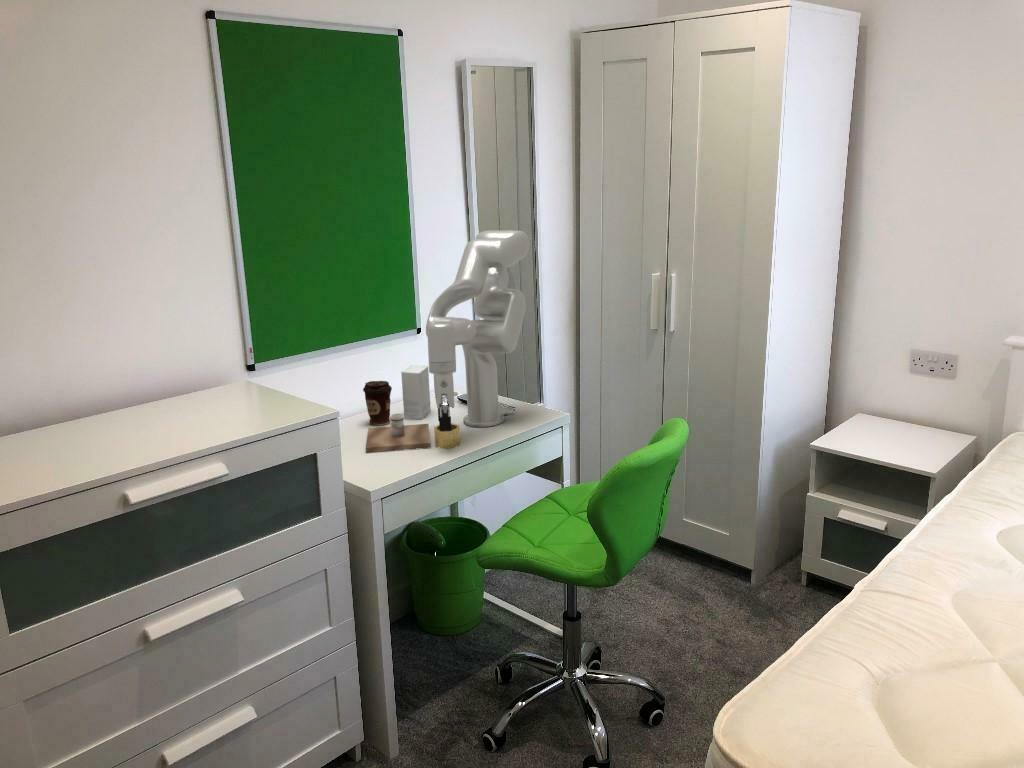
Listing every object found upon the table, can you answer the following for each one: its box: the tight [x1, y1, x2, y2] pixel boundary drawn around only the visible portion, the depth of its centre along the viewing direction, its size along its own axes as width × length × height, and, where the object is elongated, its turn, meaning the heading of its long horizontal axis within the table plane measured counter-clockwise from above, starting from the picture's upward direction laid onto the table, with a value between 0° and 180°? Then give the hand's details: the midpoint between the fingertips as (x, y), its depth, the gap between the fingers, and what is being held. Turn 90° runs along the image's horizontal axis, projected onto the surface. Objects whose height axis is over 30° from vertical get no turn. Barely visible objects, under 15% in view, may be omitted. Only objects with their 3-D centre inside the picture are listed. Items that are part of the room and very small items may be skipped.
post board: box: [365, 413, 431, 454], centre depth 241 cm, size 18×18×8 cm
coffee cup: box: [362, 380, 393, 426], centre depth 257 cm, size 9×8×13 cm
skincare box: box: [400, 364, 432, 420], centre depth 263 cm, size 8×7×16 cm
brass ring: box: [433, 422, 462, 449], centre depth 236 cm, size 7×7×5 cm
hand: (444, 425), depth 235 cm, fingers open, 9 cm apart
